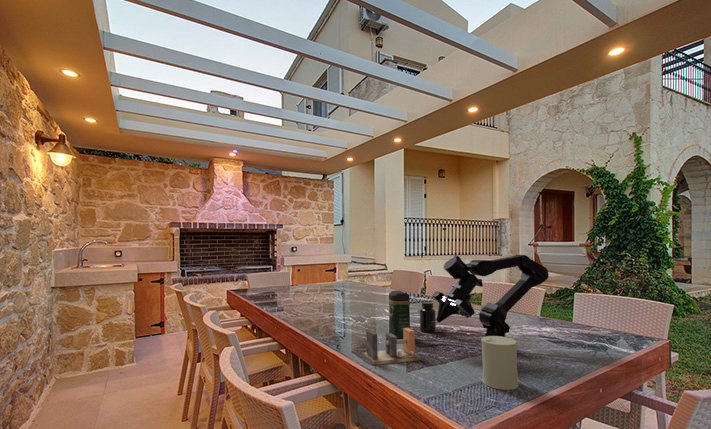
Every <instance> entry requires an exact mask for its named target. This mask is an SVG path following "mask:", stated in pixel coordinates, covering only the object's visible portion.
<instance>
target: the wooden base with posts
mask: <svg viewBox="0 0 711 429" xmlns="http://www.w3.org/2000/svg"><path fill="white" fill-rule="evenodd" d="M365 330H366V351H365V352H363V354H364V356H365V358H366V360H368V361H369V362H370V363H371V364H372V365H374V366H375V365H383V364H385V365H386V364H395V363H404V362H406V363H407V362H415V361H421V360H422V358H421V356H420V355H419V354H417V353H416V352H415V354H414V355H411V354H410V355H409V354H408V353H407V352H405V351H404V348H398V349H397V346H398V344H397V340H398V338H397V337H396V336H394V335H393V334H392V333H389V332H387V333H385V342H386V341H388V340H389V345H387V344H386V343H385V349H384V350H378V333H376V332H375V331H374V330H373V329H371V328H370V329H365ZM398 351H401V352H402V357H399V356H398Z"/></svg>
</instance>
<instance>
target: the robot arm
mask: <svg viewBox="0 0 711 429" xmlns="http://www.w3.org/2000/svg"><path fill="white" fill-rule="evenodd" d="M515 267H517V268H518V269H519V271H520V272H521V275H520V279H519V280H518V281H517V282H516V283H515V284H514V285H513V286H512V287H511V288H510V289H509V290H508V291H507V292H506V293H505V294H504V295H503V296H502V297H500V299H498V301H497V302H495V303H492V302H487V303H485V306H484V307H481V308H480V312H479V314H478V315H479V316H478V319H479V322H480V323H481V324H482V327H483V329H486V330H485V331H486V332H485V333H484V337H486V336H501V337H507V335H506V334H507V333H509V332H510V329H511V326H510V325H509V324H508V323H507V322H506V320H507V316H508V313H509V311H511V309H512V308H513V307H514V306H515V305H516V304H517V303H518V302H519V301H520V300H521V299H522V298H523V297H524V296H525V295H526V294H527V293H528V292H529V291H530V290H531V289H532V288H534V287H537V286H540V285H541V284H543V283H544V282H546V281H547V280H548V278H549V277H550V274H549V270H548V269H547V267H546V266H543V265H542V264H540V263H539V262H536V261H535V260H534V259H531V258H530V257H529V256H527V255H526V254H515V255H511V256H506V257H501V258H496V259H473V260H470V261H469V263H465V262H464V261H463V260H462V258H461V257H460V256H459V255H454V256H453V257H451V258H449V259H448V260H447V261H446V262H444V264H443V269H444V270H445V271H446V272H447V273H448V274H449V275H450V276H451V277H452V279H454V280H458V281H457V282H456V284H455V283H453V284H452V285H451V287H452V289H451V290H450V291H449V292H446V293H443V292H441V291H438V290H437V291H434V292H433V294H432V295H431V296H432V297H433V299H435V301H436V302H438V310H437V314H436V315H437V316H436V323H438V324H439V323H442V322H443V321H444V320H446V319H448V318H449V317H450V316H452V315H461V316H462V317H465V318H467V319H468V318H471V317H472V316H473V315H474V314H476V313H475V309H474V308H473V306H472V304H471V301H470V300H471V299H472V296H471V295H470V294H472V292H473V290H474V289H475V288H476V287H480V288H483V287H484V284H483V279H482V278H479V276H480V277H487V276H490V275H492V274H494V273H495V272H497V271H500V270H505V269H509V268H510V269H511V268H515Z"/></svg>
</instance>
